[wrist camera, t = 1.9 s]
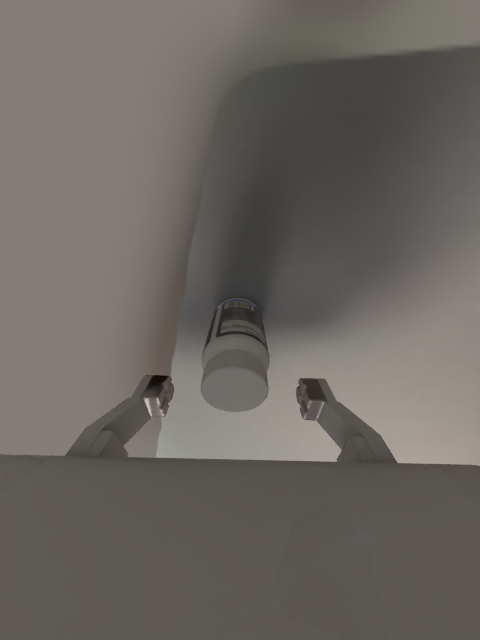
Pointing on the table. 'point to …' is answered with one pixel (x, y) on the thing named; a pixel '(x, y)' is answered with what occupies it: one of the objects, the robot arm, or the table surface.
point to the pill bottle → (235, 357)
